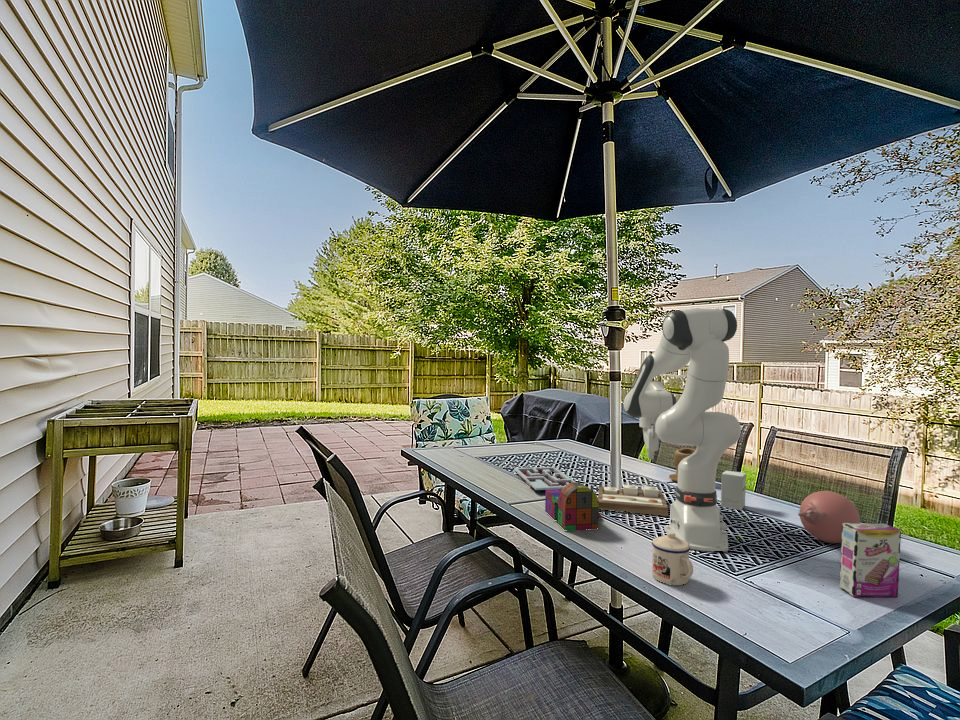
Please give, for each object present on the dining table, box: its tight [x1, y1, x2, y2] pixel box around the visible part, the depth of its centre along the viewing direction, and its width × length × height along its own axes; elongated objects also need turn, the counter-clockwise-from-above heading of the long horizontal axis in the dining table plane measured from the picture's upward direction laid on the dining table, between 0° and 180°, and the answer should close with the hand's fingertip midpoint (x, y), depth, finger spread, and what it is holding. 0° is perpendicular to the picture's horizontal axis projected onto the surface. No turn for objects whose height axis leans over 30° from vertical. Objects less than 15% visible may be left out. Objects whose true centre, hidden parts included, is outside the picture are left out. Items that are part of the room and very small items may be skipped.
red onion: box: [797, 490, 861, 544], centre depth 154 cm, size 15×20×15 cm
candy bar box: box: [839, 522, 902, 598], centre depth 121 cm, size 11×5×16 cm, turn 92°
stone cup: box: [668, 447, 696, 483], centre depth 226 cm, size 15×12×15 cm
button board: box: [597, 486, 669, 517], centre depth 190 cm, size 22×24×4 cm
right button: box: [643, 485, 659, 497], centre depth 193 cm, size 5×5×3 cm
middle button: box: [623, 484, 639, 496], centre depth 195 cm, size 5×5×3 cm
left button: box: [603, 486, 618, 494], centre depth 197 cm, size 5×5×3 cm
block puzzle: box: [544, 481, 602, 531], centre depth 174 cm, size 25×17×14 cm
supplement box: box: [720, 470, 747, 511], centre depth 190 cm, size 7×7×13 cm
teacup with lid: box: [651, 532, 694, 586], centre depth 126 cm, size 12×9×12 cm
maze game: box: [513, 466, 576, 491], centre depth 220 cm, size 35×20×3 cm, turn 11°
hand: (650, 458), depth 193 cm, fingers closed
